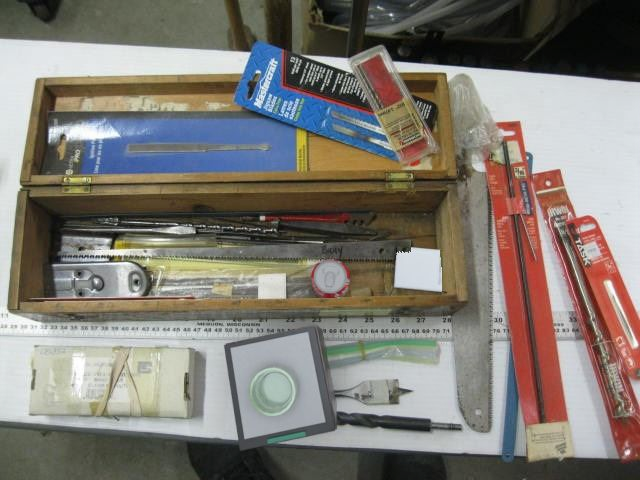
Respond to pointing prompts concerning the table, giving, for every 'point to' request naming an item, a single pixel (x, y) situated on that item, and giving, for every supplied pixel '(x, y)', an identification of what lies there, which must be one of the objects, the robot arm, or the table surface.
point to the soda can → (330, 279)
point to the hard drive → (418, 270)
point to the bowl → (273, 390)
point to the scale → (313, 398)
